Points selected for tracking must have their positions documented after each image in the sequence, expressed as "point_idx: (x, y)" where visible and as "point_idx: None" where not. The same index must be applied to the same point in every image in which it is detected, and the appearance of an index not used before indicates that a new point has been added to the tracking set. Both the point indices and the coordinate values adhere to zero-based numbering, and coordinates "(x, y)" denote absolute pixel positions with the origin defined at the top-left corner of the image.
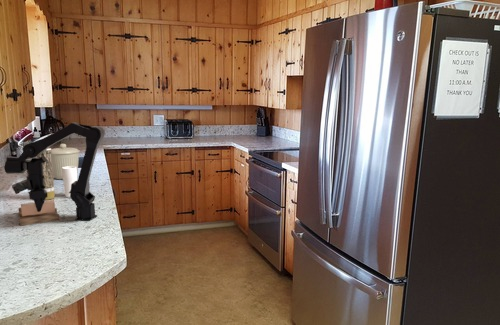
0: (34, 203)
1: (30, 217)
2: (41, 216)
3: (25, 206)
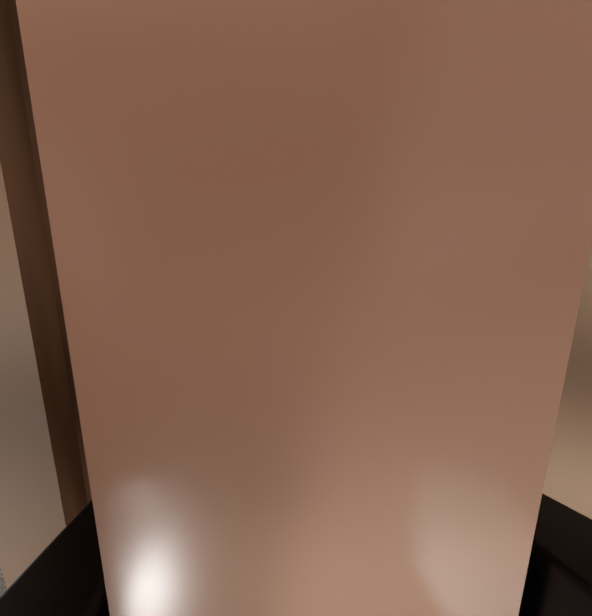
0: (375, 563)
1: (3, 254)
2: (5, 479)
3: (53, 208)
